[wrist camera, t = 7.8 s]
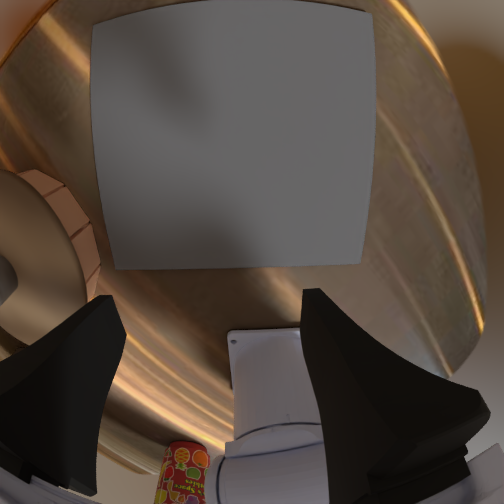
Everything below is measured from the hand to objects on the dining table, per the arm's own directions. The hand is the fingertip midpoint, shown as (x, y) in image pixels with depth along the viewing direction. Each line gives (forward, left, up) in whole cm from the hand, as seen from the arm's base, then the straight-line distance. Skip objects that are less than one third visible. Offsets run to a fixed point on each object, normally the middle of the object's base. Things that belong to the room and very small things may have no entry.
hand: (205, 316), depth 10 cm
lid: (-1, +16, -5) cm, 17 cm away
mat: (+6, -1, -9) cm, 11 cm away
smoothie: (-35, +8, -10) cm, 37 cm away
